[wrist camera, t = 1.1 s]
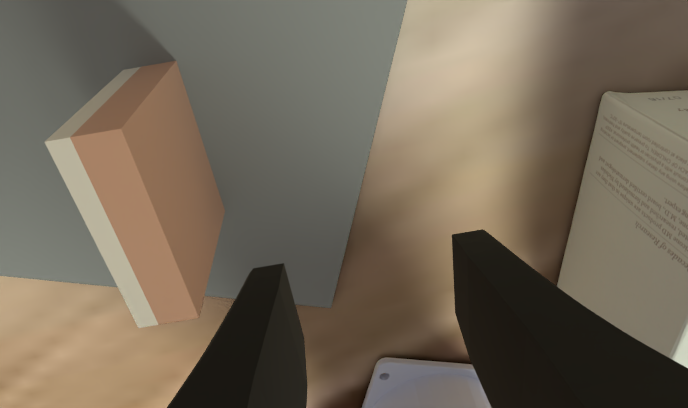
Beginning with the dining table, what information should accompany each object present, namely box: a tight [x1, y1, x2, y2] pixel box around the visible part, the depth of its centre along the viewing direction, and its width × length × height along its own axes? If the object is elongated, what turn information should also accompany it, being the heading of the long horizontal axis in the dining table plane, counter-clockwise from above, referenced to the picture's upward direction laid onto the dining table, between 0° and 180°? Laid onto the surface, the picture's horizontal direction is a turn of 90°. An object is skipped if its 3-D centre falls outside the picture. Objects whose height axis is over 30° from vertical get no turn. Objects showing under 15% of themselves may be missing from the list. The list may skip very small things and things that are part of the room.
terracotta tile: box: [45, 61, 225, 328], centre depth 16 cm, size 2×6×6 cm, turn 9°
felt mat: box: [0, 0, 407, 308], centre depth 18 cm, size 14×15×1 cm
